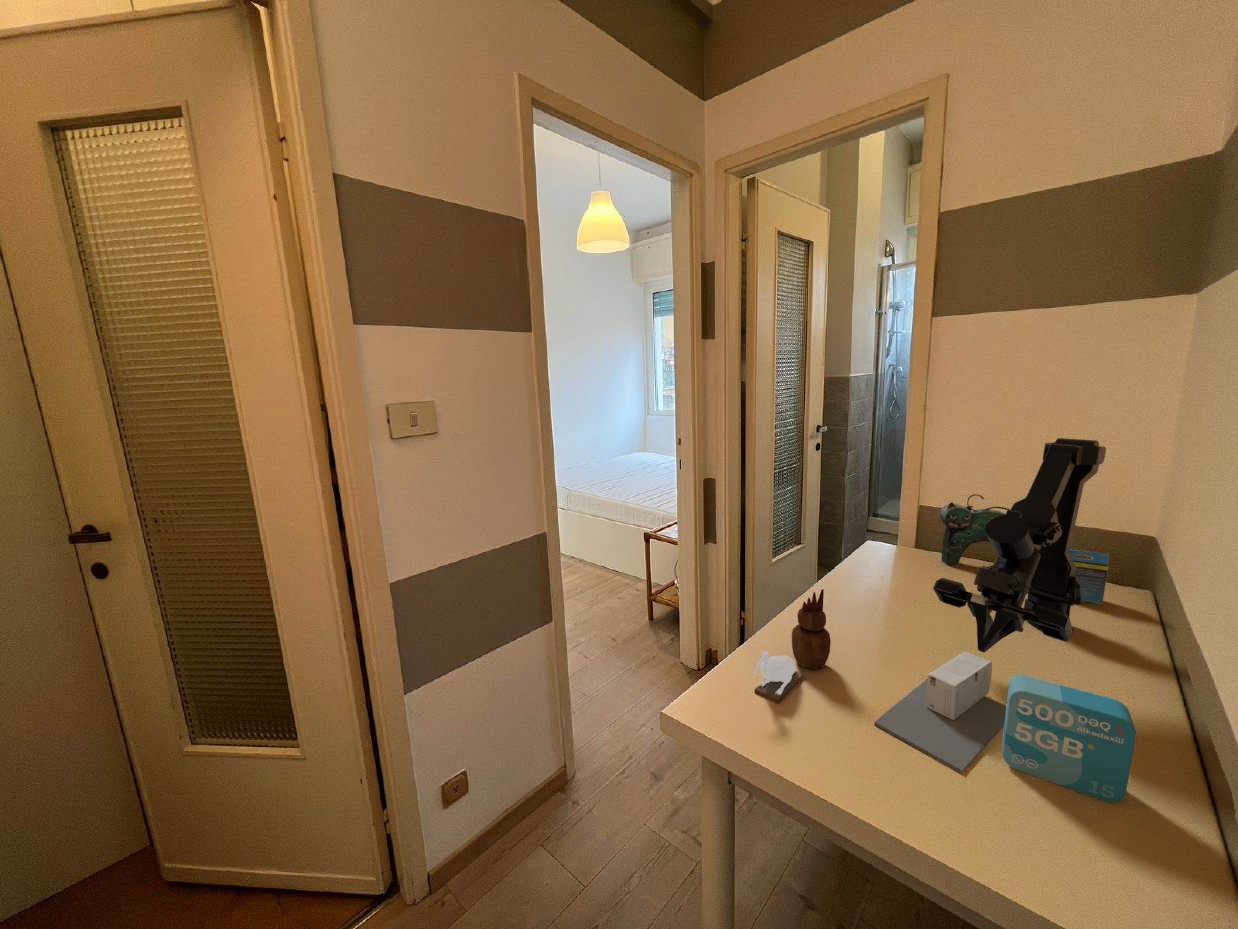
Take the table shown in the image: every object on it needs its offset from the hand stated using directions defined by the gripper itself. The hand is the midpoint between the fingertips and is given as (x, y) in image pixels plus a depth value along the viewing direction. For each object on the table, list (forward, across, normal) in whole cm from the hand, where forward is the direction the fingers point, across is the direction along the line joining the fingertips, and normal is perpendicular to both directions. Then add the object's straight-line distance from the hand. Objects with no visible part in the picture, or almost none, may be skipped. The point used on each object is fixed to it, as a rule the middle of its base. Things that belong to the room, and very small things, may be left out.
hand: (980, 650), depth 83 cm
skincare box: (+3, 0, +2) cm, 3 cm away
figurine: (+25, -21, -14) cm, 35 cm away
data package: (+14, +14, -4) cm, 20 cm away
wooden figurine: (+16, -22, -6) cm, 28 cm away
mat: (+14, 0, -4) cm, 14 cm away
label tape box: (-34, 0, +44) cm, 55 cm away
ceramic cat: (-38, -22, +49) cm, 65 cm away
